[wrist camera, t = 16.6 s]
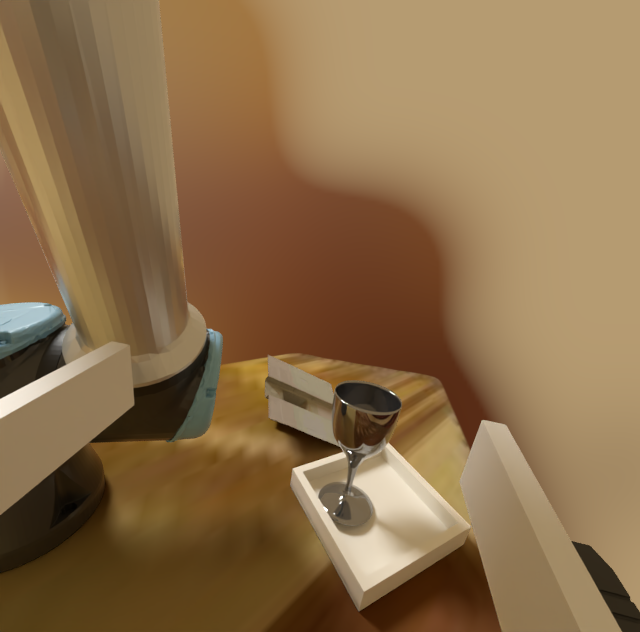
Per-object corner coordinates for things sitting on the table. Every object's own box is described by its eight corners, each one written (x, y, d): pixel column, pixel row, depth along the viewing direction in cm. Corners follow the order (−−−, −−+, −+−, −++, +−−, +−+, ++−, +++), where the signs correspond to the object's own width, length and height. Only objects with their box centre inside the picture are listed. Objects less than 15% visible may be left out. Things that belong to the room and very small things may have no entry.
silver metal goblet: (329, 534, 37) (354, 414, 34) (306, 484, 44) (324, 380, 41) (388, 522, 40) (416, 410, 37) (357, 476, 47) (378, 380, 44)
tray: (290, 485, 45) (292, 468, 44) (380, 453, 53) (384, 438, 52) (358, 611, 32) (364, 591, 31) (464, 544, 40) (471, 526, 39)
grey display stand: (299, 405, 69) (247, 366, 62) (331, 382, 67) (281, 339, 60) (309, 478, 55) (243, 439, 48) (350, 451, 53) (287, 406, 46)
